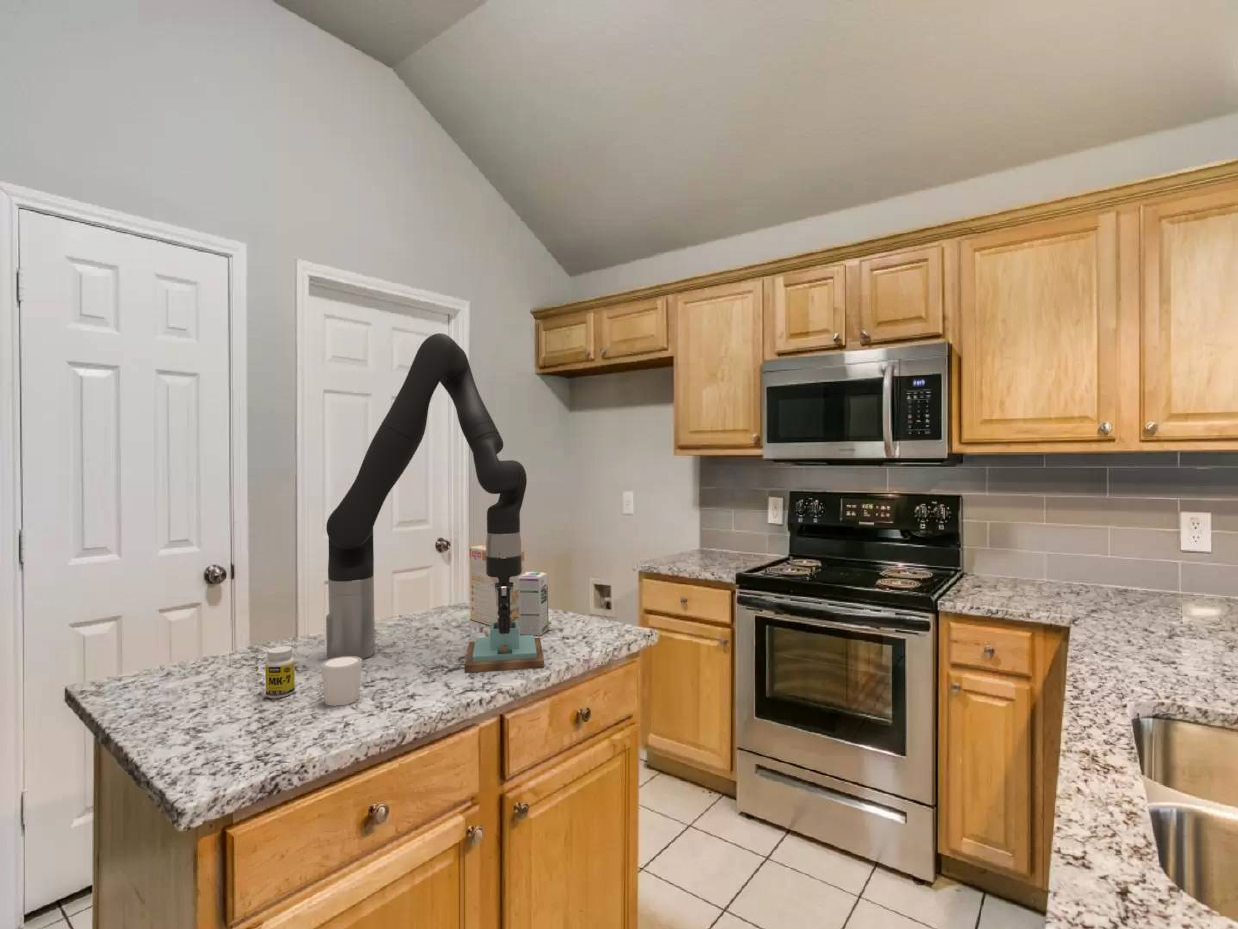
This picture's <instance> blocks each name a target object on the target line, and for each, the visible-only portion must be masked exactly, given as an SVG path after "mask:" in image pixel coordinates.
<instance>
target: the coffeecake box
mask: <svg viewBox="0 0 1238 929" xmlns="http://www.w3.org/2000/svg"><path fill="white" fill-rule="evenodd" d="M521 567H522V572H521V574H520V575H518V576H515V577H510V582H513V593H512V605H511V606H510V611H511V614H510V617H511V618H512V621H518V622H519V591H518V577H519V576H521V575H523V574H525V549H522V548H521ZM498 582H499V579H498V578H497V577H489V576H488V575H487V574H486V544H481V545H479V544H478V545H475V546H474V545H473V546H469V592H470V593H469V596H470V598H469V599H470V600H469V601H470V602H469V604H470V605H469V606H470V608H469V609H470V611H469V612H470V618H469V619H470V620H471V619H472V620H471V621H476V622H478V623H480V624H485V625H488V626H490V627H491V622H497V619H498V618H499V616H498V606H496V594H495V583H498Z"/></svg>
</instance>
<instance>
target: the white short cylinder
mask: <svg viewBox="0 0 1238 929" xmlns="http://www.w3.org/2000/svg"><path fill="white" fill-rule="evenodd" d="M362 664H363V659H361V658H359V657H355V656H343V657H337V658H332V659H329V660H327V659H326V660H324V661H323V662H321V664H320V670H321V671H320V672H321V677H322V678H321V679H322V687H323V688H322V689H323V694H324V695H323V696H324V703H325V704H326V705H327V706H329V705H343V706H346V705H350V703H351V704H353V703H355V702H357V701H358V700H359V698H360V689H361V678H362V677H361V676H362V666H363V665H362ZM357 699H358V700H357ZM356 700H357V701H356ZM352 702H353V703H352Z"/></svg>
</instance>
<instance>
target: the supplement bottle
mask: <svg viewBox="0 0 1238 929" xmlns="http://www.w3.org/2000/svg"><path fill="white" fill-rule="evenodd" d="M292 648H293V647H291V646H288V645H286V646H285V645H283V646H281V645H280V646H276V647H272V648H269V649H268V650H267V660H266V661H265V665H264V666H265V696H266V698H269V699H282V698H286V697H289V696H291V695H292V693H293V694H294V693H295V692H296V691H295V690H296V689H295V688H296V687H295V676H296V674H295V672H296V671H295V659H294V657H293V649H292ZM288 695H289V696H288ZM285 696H286V697H285ZM281 697H282V698H281Z"/></svg>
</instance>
